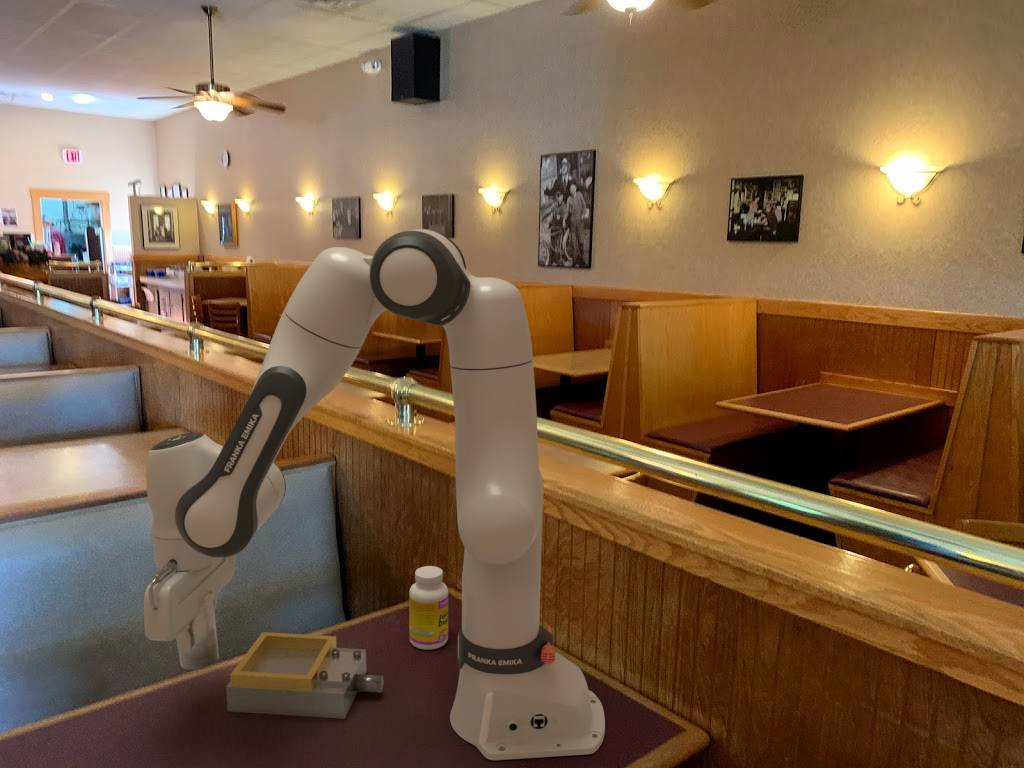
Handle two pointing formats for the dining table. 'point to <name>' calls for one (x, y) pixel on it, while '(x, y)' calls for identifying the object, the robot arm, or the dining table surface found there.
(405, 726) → the dining table surface
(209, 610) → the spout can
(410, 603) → the supplement bottle
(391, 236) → the robot arm
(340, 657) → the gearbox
